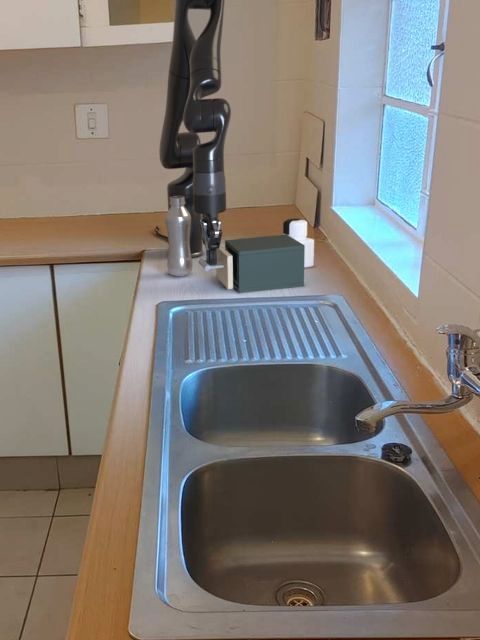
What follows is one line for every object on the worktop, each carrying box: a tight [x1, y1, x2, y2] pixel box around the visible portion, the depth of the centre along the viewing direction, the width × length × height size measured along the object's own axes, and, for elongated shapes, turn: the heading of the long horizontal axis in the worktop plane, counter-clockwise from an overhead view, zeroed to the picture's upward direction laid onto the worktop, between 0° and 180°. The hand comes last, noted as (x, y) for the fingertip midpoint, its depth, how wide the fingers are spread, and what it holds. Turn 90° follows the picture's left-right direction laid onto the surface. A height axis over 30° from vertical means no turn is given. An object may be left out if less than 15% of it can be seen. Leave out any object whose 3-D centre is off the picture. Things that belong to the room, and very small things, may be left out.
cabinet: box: [224, 234, 305, 294], centre depth 181 cm, size 16×13×10 cm
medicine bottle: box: [282, 218, 315, 269], centre depth 193 cm, size 7×7×12 cm
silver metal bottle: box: [164, 196, 194, 277], centre depth 190 cm, size 6×7×20 cm
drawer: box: [197, 244, 238, 290], centre depth 181 cm, size 20×12×8 cm, turn 99°
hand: (211, 264), depth 179 cm, fingers closed
